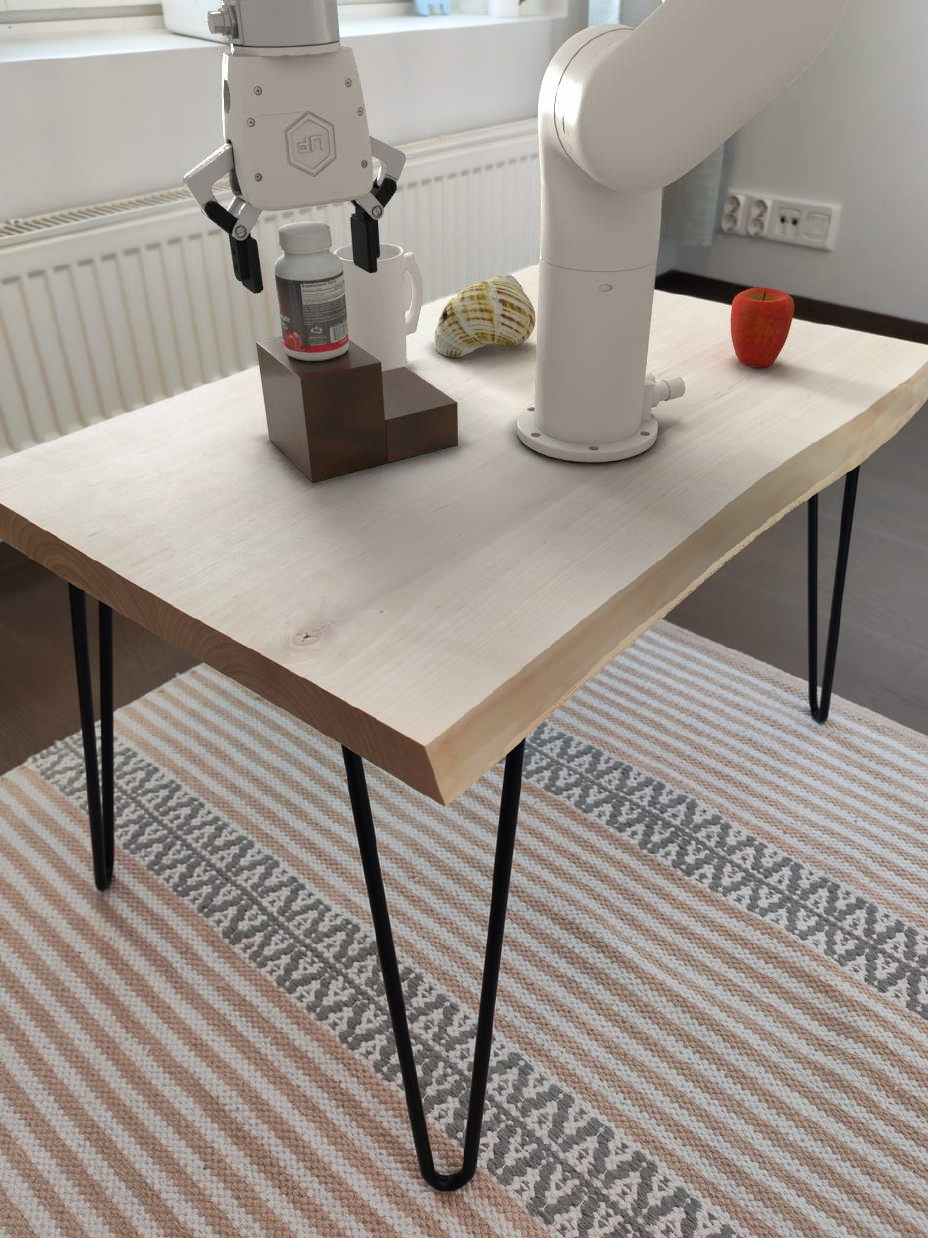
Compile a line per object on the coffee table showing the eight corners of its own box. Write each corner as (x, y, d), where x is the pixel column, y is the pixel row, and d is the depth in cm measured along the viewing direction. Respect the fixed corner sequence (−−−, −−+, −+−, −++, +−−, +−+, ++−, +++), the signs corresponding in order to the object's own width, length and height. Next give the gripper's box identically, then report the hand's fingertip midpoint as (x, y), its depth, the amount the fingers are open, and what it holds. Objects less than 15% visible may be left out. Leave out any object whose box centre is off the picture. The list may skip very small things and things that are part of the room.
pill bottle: (275, 346, 82) (259, 224, 76) (335, 335, 84) (324, 215, 78) (297, 367, 78) (283, 239, 72) (360, 355, 80) (350, 230, 74)
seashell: (416, 351, 104) (431, 253, 102) (456, 365, 112) (470, 275, 111) (502, 361, 100) (519, 259, 98) (537, 375, 108) (553, 281, 107)
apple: (716, 352, 104) (726, 281, 100) (773, 351, 105) (786, 280, 100) (732, 374, 99) (743, 300, 95) (792, 373, 99) (806, 299, 95)
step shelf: (406, 406, 94) (402, 312, 89) (458, 444, 87) (457, 345, 82) (269, 438, 88) (255, 341, 83) (312, 482, 81) (300, 379, 76)
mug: (372, 389, 97) (363, 265, 90) (330, 371, 101) (319, 251, 94) (445, 362, 103) (442, 244, 96) (403, 346, 107) (398, 232, 100)
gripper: (177, 38, 61) (220, 310, 71) (420, 23, 68) (428, 273, 78) (145, 30, 67) (189, 284, 77) (373, 16, 74) (387, 251, 84)
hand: (310, 278), depth 77 cm, fingers open, 9 cm apart
